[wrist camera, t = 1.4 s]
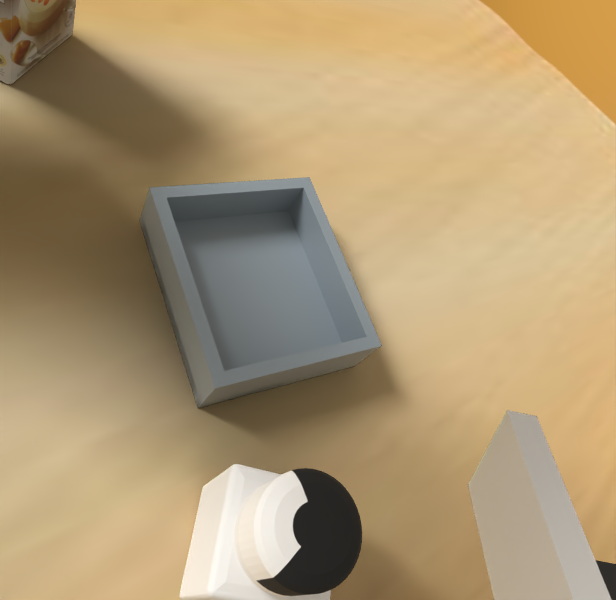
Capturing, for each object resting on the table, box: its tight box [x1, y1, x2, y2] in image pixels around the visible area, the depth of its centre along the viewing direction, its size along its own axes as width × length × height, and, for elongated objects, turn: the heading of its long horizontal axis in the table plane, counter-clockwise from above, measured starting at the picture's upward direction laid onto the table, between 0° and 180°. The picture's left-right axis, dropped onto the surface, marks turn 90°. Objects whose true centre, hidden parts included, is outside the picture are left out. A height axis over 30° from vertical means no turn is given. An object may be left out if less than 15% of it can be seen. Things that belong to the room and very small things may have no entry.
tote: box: [140, 177, 382, 408], centre depth 46 cm, size 16×14×4 cm
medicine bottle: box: [180, 464, 362, 600], centre depth 34 cm, size 7×7×12 cm
